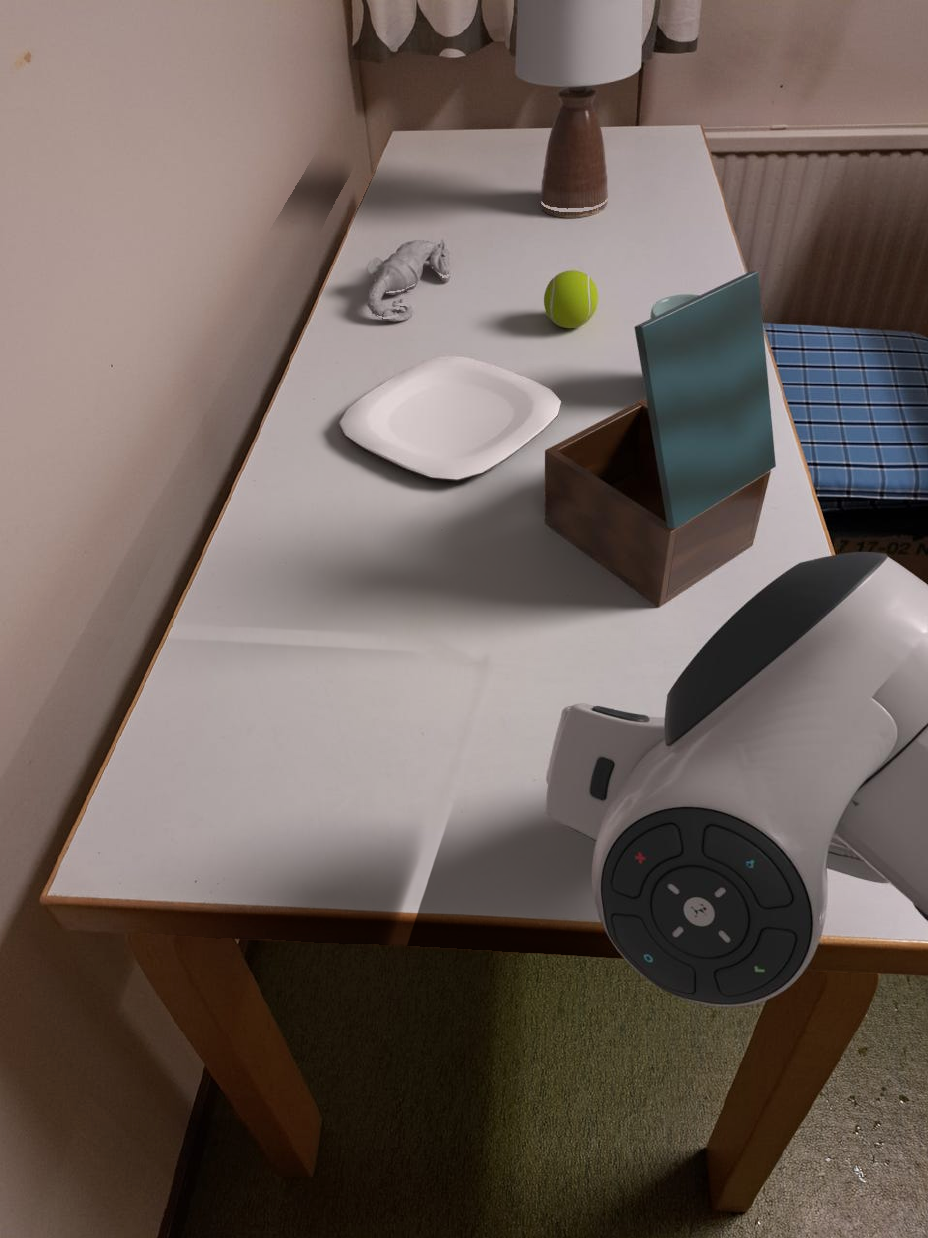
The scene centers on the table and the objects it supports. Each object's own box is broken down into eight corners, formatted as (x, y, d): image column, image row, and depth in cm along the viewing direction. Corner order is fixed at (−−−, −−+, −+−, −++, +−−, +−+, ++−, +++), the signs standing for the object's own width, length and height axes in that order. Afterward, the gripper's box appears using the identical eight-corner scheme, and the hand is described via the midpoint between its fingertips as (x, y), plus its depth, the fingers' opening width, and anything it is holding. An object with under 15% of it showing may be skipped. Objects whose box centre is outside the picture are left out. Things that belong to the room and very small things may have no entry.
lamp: (557, 238, 130) (561, -65, 104) (497, 201, 142) (487, -79, 115) (653, 208, 136) (681, -87, 109) (588, 175, 147) (598, -98, 121)
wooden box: (544, 523, 84) (544, 450, 77) (634, 471, 88) (642, 399, 82) (659, 608, 75) (670, 532, 68) (752, 545, 79) (771, 470, 73)
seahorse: (436, 318, 112) (461, 235, 123) (353, 291, 111) (386, 209, 122) (428, 348, 117) (453, 265, 128) (348, 322, 115) (380, 240, 126)
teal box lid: (633, 326, 60) (641, 326, 60) (750, 271, 65) (758, 270, 64) (667, 527, 68) (674, 529, 68) (768, 465, 73) (776, 466, 72)
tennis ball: (596, 311, 113) (599, 260, 108) (596, 337, 108) (599, 284, 103) (544, 312, 114) (544, 261, 109) (542, 338, 109) (543, 285, 104)
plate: (460, 505, 86) (459, 492, 85) (319, 435, 97) (316, 423, 96) (582, 410, 97) (583, 397, 96) (443, 356, 108) (442, 344, 106)
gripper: (958, 813, 39) (905, 764, 52) (543, 696, 45) (588, 678, 59) (921, 940, 40) (878, 860, 53) (516, 806, 46) (567, 765, 59)
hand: (723, 764), depth 56 cm, fingers closed on pill bottle, 6 cm apart
